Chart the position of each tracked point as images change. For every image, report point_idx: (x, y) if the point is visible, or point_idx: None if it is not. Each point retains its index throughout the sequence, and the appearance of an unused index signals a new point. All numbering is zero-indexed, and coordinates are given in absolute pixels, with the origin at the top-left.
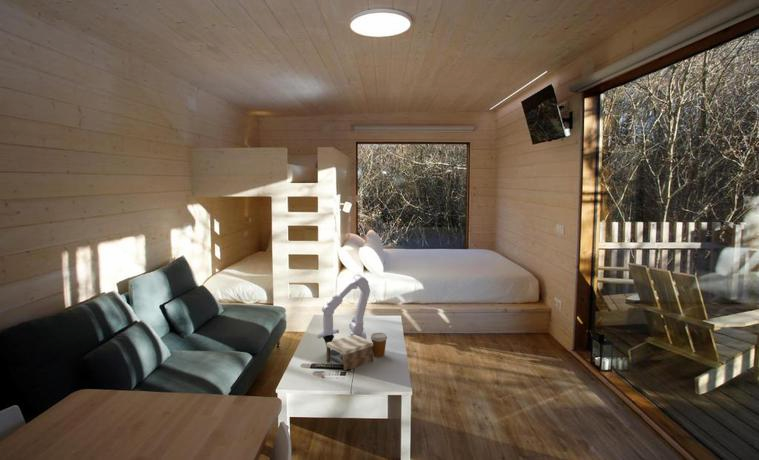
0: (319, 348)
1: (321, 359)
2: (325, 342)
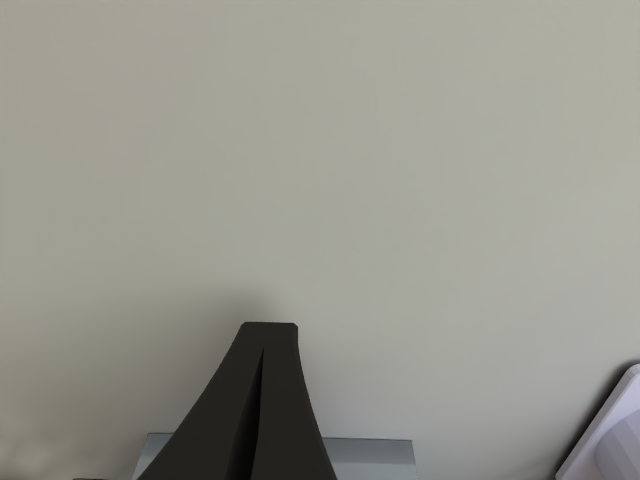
0: (200, 31)
1: (33, 417)
2: (190, 415)
